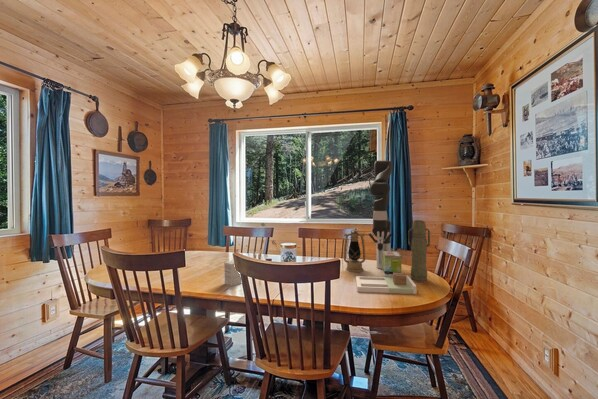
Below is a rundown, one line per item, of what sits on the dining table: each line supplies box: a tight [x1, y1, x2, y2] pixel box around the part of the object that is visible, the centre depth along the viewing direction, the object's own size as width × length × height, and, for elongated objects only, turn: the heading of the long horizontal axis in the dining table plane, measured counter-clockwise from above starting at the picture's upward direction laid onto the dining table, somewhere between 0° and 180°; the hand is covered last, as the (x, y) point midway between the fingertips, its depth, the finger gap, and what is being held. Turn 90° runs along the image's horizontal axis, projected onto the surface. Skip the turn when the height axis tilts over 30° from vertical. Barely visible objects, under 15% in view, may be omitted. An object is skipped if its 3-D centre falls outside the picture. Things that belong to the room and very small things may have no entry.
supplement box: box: [223, 260, 242, 287], centre depth 170 cm, size 7×7×13 cm
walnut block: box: [393, 272, 407, 285], centre depth 160 cm, size 6×6×5 cm
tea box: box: [382, 250, 403, 278], centre depth 182 cm, size 15×10×15 cm, turn 168°
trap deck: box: [355, 275, 418, 295], centre depth 162 cm, size 20×30×4 cm
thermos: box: [407, 219, 431, 283], centre depth 175 cm, size 9×12×35 cm
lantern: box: [343, 225, 366, 273], centre depth 200 cm, size 14×12×30 cm
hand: (380, 250), depth 164 cm, fingers closed
